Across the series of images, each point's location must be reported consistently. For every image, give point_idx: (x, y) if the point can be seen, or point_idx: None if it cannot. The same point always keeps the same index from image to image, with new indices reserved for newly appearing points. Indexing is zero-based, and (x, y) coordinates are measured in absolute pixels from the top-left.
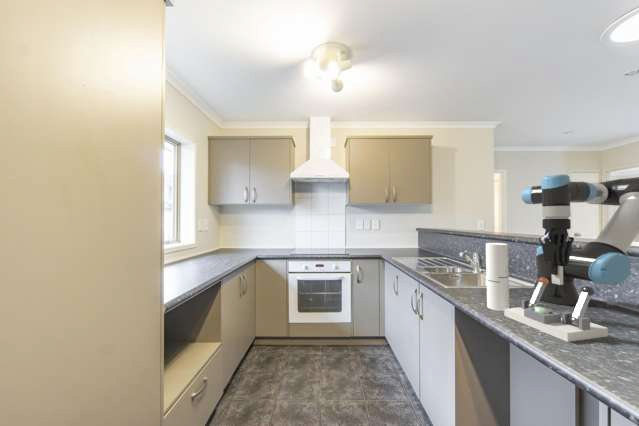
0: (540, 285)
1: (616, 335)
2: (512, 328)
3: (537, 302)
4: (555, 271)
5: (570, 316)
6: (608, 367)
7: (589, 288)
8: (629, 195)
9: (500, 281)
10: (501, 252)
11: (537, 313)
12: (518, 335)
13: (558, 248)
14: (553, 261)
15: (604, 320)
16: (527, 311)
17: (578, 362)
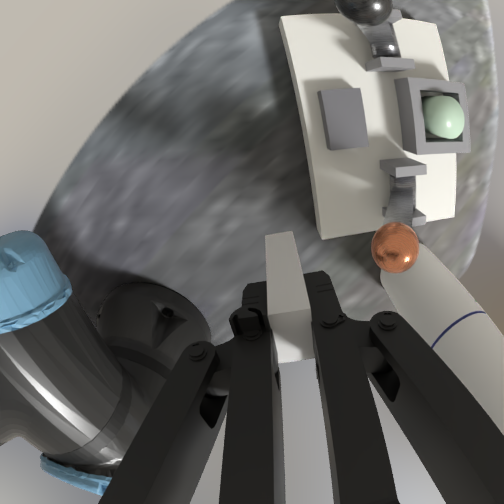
0: (411, 225)
1: (241, 30)
2: (481, 127)
3: (397, 190)
4: (329, 286)
5: (397, 49)
6: None
7: None
8: None
9: (475, 302)
10: None
11: (467, 105)
12: (491, 93)
13: (344, 495)
14: (396, 332)
15: (152, 149)
16: (466, 139)
17: None
